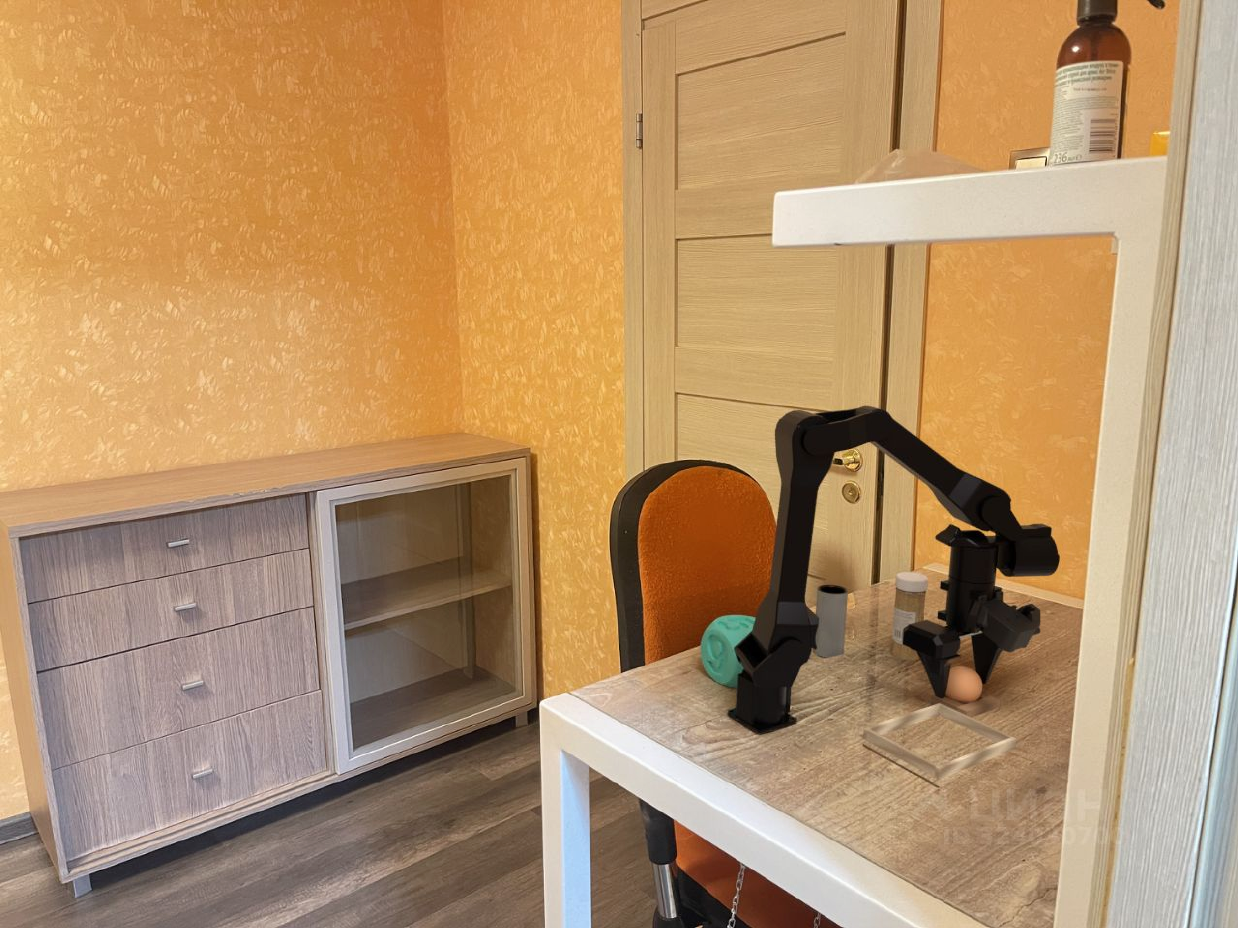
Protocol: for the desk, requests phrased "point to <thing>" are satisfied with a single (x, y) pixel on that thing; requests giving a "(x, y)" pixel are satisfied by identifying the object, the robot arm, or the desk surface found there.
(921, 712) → the tray
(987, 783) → the desk surface
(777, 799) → the desk surface
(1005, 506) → the robot arm
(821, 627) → the grey hollow cylinder
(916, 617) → the sprinkles bottle
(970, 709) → the brown flat square frame
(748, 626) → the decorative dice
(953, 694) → the ball
